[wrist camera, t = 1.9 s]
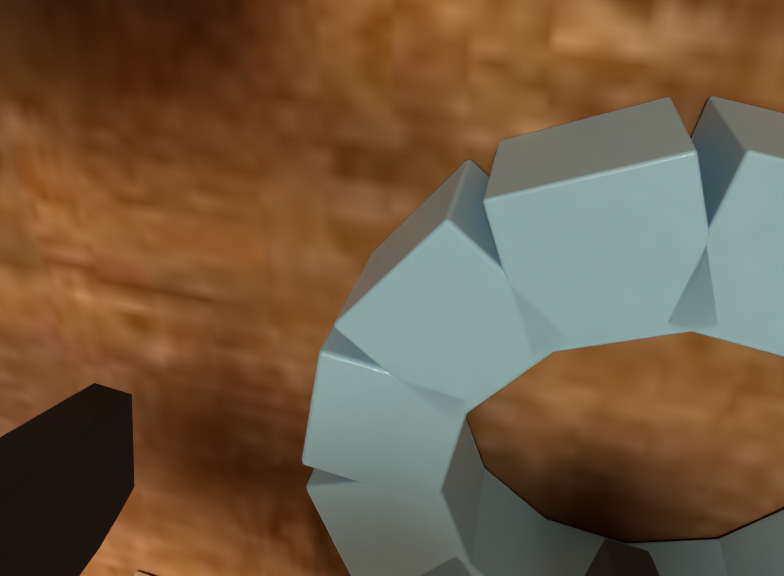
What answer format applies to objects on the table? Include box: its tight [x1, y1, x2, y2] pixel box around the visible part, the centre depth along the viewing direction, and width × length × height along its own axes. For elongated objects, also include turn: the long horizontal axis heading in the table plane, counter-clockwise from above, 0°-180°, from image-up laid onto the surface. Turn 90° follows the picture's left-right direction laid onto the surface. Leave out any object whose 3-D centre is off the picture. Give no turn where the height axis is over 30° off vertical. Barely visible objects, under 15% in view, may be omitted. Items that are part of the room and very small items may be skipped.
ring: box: [302, 96, 784, 576], centre depth 12 cm, size 12×12×3 cm
